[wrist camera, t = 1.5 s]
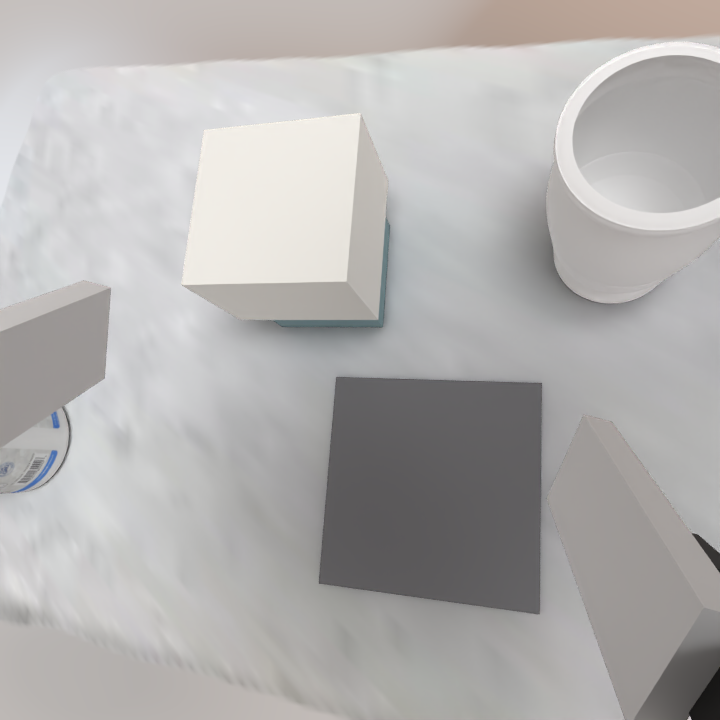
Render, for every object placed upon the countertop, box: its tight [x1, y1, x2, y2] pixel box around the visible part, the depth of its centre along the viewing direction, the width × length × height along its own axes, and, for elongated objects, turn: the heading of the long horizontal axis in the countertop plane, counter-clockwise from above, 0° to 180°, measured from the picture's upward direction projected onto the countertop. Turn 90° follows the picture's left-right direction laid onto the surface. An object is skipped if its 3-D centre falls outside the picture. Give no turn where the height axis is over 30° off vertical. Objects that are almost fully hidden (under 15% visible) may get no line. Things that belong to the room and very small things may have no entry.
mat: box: [319, 377, 542, 614], centre depth 41 cm, size 16×16×1 cm
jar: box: [546, 42, 720, 303], centre depth 34 cm, size 11×10×15 cm
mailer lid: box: [181, 113, 388, 320], centre depth 38 cm, size 11×11×8 cm
